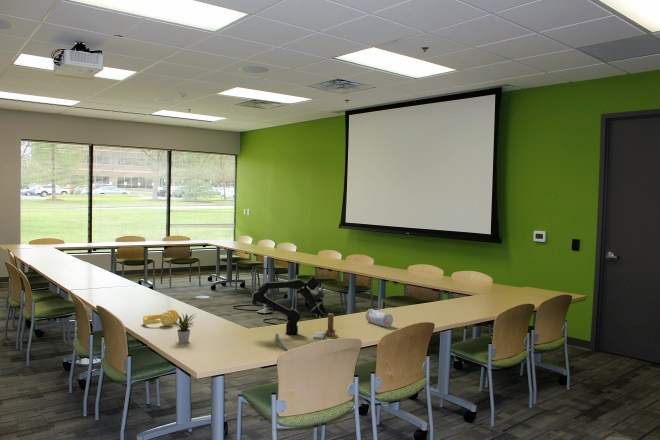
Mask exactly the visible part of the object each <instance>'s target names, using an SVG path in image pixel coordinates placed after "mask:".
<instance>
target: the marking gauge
mask: <svg viewBox="0 0 660 440" xmlns="http://www.w3.org/2000/svg"><path fill="white" fill-rule="evenodd" d="M334 317H335V316H334V313H330V312H329V313H327V329H326V330H325V337H335V335H336V329H334Z"/></svg>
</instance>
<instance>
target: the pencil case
mask: <svg viewBox="0 0 660 440" xmlns="http://www.w3.org/2000/svg"><path fill="white" fill-rule="evenodd" d="M365 320H366V321H367V323H371V324H375V325H377V326H381V327H385V328H390V327H391V326H392V325H393V322H394V317H393V315H392V314H390V313H388V312H381V311H378V310H375V309H373V308H368V310H367V311H366V313H365Z"/></svg>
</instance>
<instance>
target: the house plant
mask: <svg viewBox="0 0 660 440" xmlns="http://www.w3.org/2000/svg"><path fill="white" fill-rule="evenodd" d="M181 314H182V317H181V316H180V314H179V315H178V317H179V318H178V320H177V321H176V322H178V323H176V322H175V323H173V324H174V327H175V328H178V329H177V337H178V342H179V343H189V340H190V335H191V329H190V328H192V327H194V326H193V325H194V324H193V323H194V321H192V320H193V319H195V315H196V313H194V314H191V315H190V316H189V315H188V313H186V314H183V313H181ZM184 315H185V316H184ZM173 318H174V317H173ZM182 318H183V319H182Z"/></svg>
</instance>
